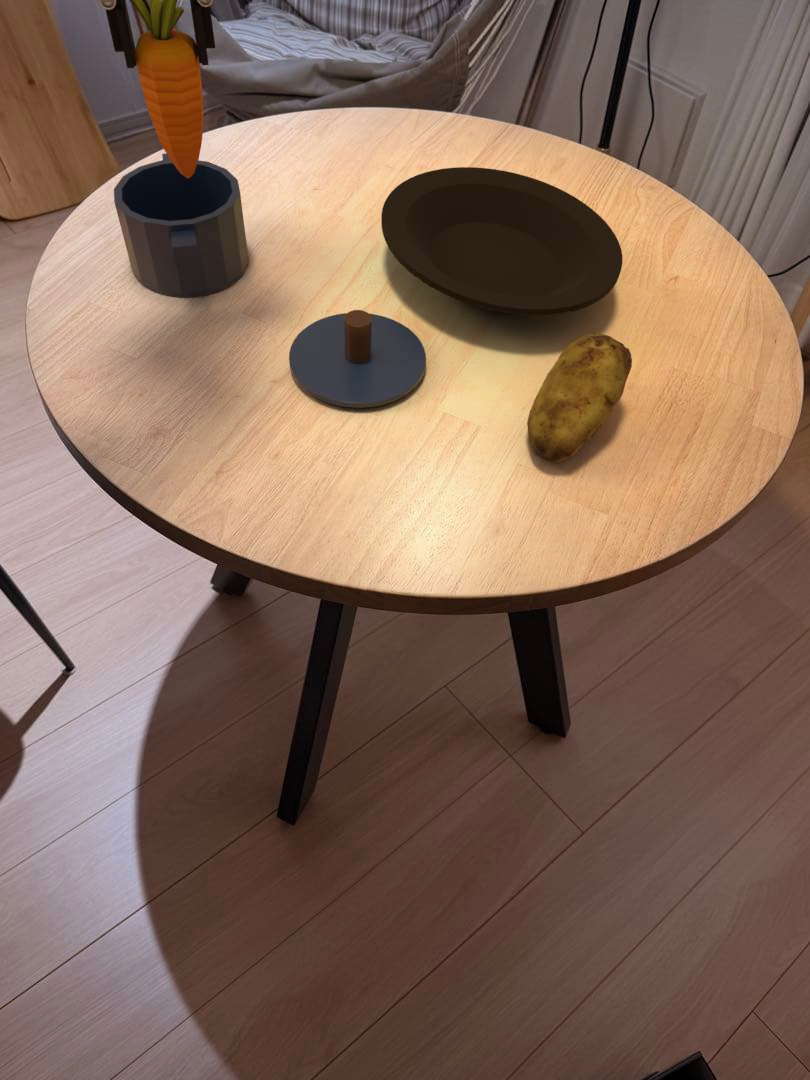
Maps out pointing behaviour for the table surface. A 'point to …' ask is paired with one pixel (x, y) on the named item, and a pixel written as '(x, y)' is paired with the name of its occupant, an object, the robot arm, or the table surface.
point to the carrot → (171, 83)
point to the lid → (357, 359)
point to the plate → (501, 241)
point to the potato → (577, 396)
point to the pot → (182, 228)
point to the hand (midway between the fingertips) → (167, 56)
